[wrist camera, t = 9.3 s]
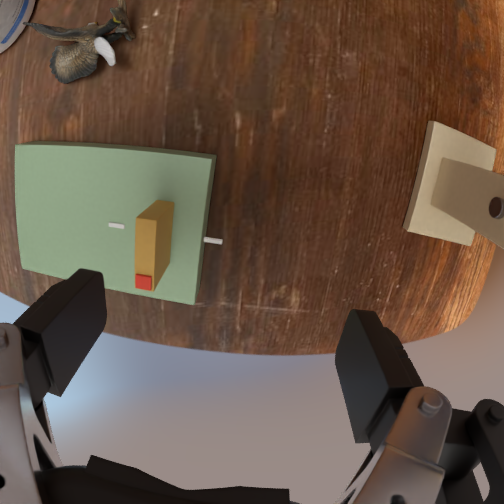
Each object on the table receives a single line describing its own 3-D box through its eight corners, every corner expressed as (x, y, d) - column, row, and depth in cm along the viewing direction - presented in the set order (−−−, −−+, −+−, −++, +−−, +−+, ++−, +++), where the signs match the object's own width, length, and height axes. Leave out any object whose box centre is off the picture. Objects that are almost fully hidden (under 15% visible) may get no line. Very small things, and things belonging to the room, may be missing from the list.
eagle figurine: (129, -21, 17) (33, 13, 16) (116, -15, 13) (0, 33, 12) (142, 51, 23) (54, 79, 22) (135, 79, 19) (30, 114, 18)
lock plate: (236, 158, 25) (234, 162, 22) (217, 290, 29) (213, 309, 26) (34, 140, 24) (14, 144, 21) (37, 256, 28) (21, 269, 25)
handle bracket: (427, 120, 23) (520, 130, 12) (489, 147, 23) (577, 172, 12) (402, 227, 27) (474, 289, 16) (464, 242, 27) (537, 299, 16)
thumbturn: (156, 199, 23) (134, 218, 18) (174, 202, 23) (155, 221, 18) (153, 260, 25) (133, 290, 20) (169, 263, 25) (152, 293, 20)
